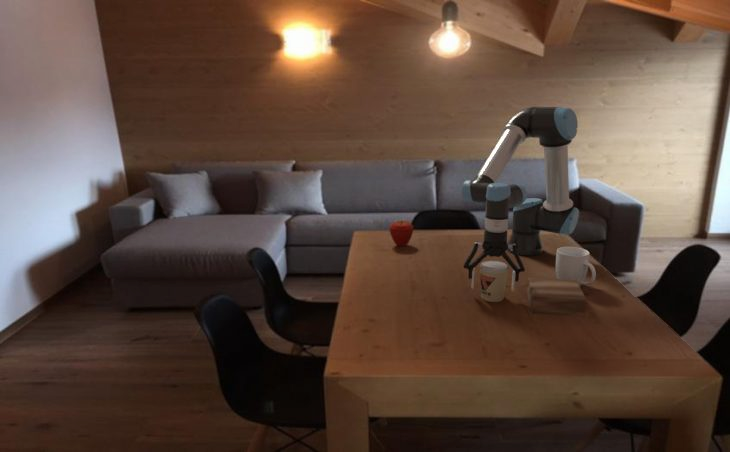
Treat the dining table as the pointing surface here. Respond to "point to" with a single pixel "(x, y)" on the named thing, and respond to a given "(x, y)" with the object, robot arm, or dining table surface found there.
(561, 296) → the riser
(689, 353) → the dining table surface
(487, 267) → the coffee cup
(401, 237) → the apple
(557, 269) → the mug
